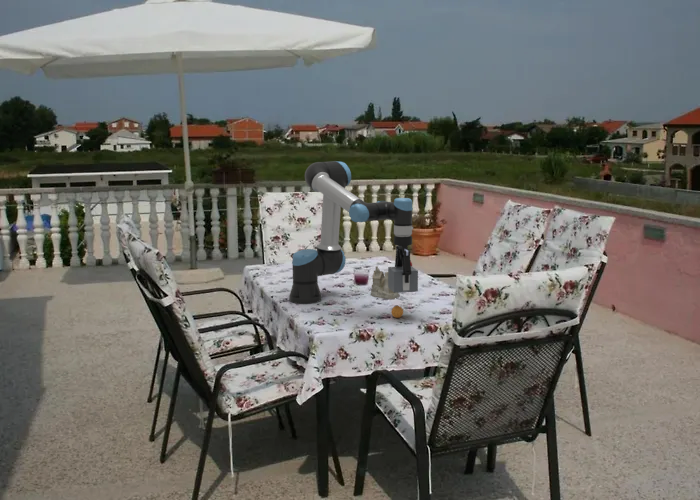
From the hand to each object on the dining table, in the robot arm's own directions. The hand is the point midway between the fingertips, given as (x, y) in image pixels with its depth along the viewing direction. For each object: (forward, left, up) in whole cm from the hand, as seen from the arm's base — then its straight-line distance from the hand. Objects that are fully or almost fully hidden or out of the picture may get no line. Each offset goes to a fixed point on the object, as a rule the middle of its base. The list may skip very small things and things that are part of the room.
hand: (402, 287), depth 281 cm
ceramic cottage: (+3, +42, -13) cm, 44 cm away
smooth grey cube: (0, 0, -1) cm, 1 cm away
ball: (-2, 0, -10) cm, 11 cm away
